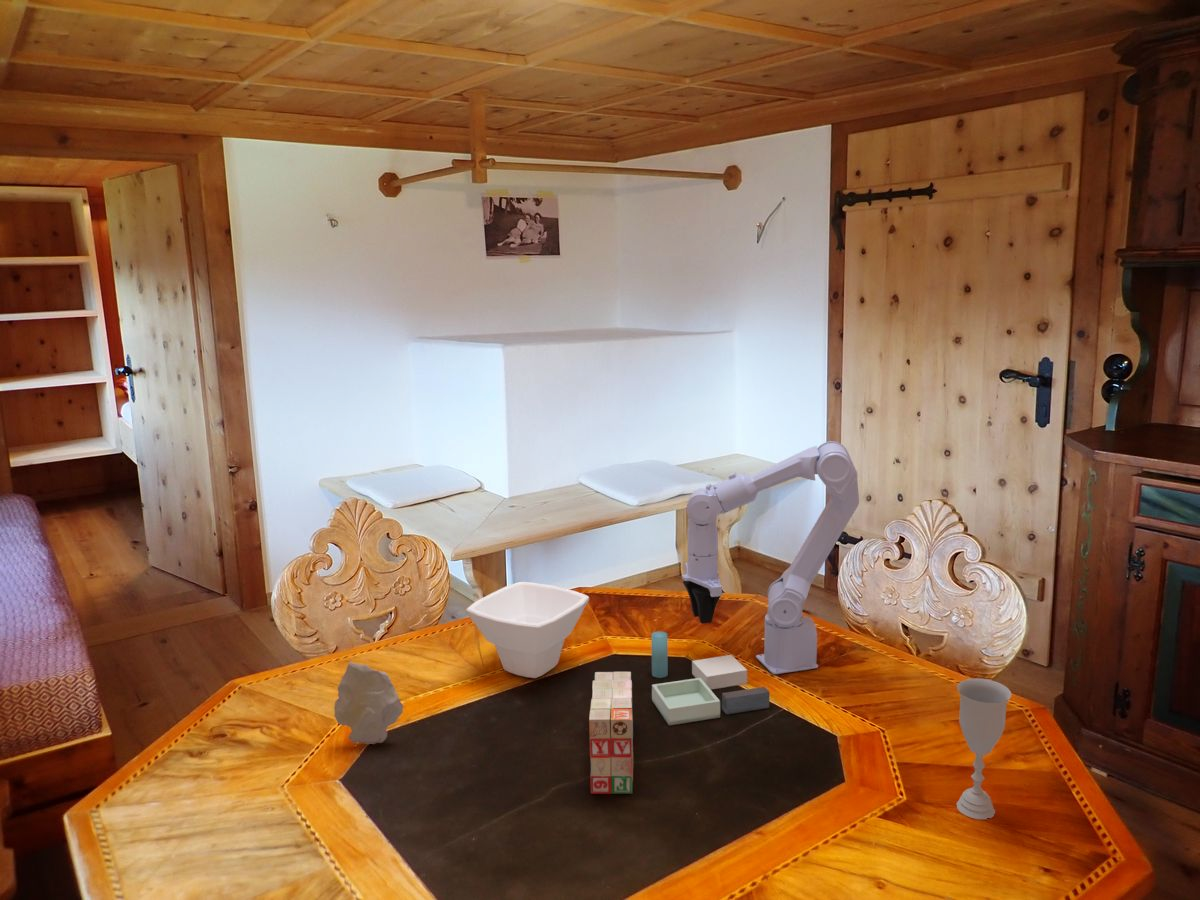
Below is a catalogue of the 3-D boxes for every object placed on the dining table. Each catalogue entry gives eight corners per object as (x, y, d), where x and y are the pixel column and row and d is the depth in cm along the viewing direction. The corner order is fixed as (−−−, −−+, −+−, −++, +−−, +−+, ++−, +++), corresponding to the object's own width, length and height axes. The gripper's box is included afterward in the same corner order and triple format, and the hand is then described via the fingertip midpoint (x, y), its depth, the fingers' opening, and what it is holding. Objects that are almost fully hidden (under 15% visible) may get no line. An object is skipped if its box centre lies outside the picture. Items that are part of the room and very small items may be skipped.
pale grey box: (730, 669, 170) (730, 654, 170) (747, 685, 164) (747, 670, 163) (692, 675, 168) (692, 660, 168) (707, 692, 162) (707, 676, 161)
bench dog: (764, 702, 156) (764, 686, 156) (769, 707, 155) (769, 691, 154) (721, 709, 155) (721, 693, 154) (726, 714, 153) (726, 698, 152)
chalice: (997, 830, 120) (1007, 707, 117) (944, 814, 124) (952, 695, 120) (1005, 802, 126) (1015, 685, 123) (955, 788, 130) (962, 674, 126)
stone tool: (407, 736, 148) (401, 652, 145) (404, 747, 144) (398, 662, 141) (340, 740, 147) (332, 656, 144) (335, 752, 144) (327, 666, 141)
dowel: (664, 669, 170) (664, 630, 168) (669, 676, 167) (669, 636, 166) (649, 671, 169) (649, 632, 168) (654, 678, 166) (654, 638, 165)
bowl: (599, 661, 174) (597, 594, 171) (540, 703, 158) (537, 629, 155) (523, 642, 184) (520, 578, 181) (460, 679, 168) (456, 609, 165)
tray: (700, 693, 160) (700, 677, 160) (720, 717, 152) (720, 701, 151) (652, 700, 158) (651, 684, 158) (669, 725, 149) (668, 709, 149)
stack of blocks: (596, 721, 152) (594, 654, 149) (633, 721, 151) (631, 654, 149) (590, 795, 131) (588, 718, 128) (633, 795, 130) (632, 718, 128)
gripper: (670, 543, 175) (670, 608, 178) (696, 566, 162) (696, 636, 164) (703, 539, 177) (703, 603, 180) (732, 562, 163) (732, 631, 166)
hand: (702, 619), depth 172 cm, fingers open, 3 cm apart
